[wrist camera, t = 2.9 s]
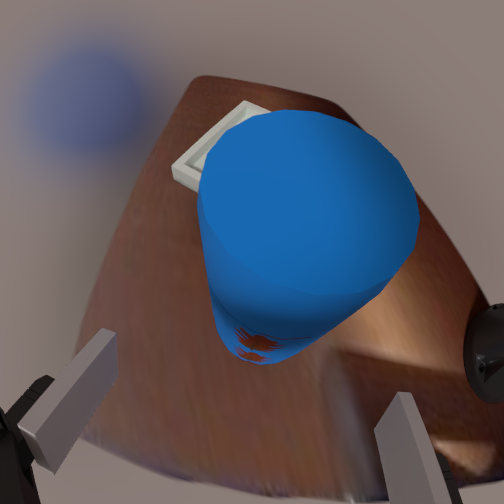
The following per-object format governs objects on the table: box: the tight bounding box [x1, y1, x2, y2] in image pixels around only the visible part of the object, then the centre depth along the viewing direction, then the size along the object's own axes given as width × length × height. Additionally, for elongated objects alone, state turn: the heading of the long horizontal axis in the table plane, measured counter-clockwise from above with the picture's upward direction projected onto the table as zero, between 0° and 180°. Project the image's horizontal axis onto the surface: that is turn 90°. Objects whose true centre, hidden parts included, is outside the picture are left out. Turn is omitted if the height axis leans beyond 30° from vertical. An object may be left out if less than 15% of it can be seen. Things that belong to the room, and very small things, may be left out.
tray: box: [172, 100, 270, 193], centre depth 45 cm, size 18×18×3 cm
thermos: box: [197, 110, 420, 365], centre depth 25 cm, size 11×11×25 cm
